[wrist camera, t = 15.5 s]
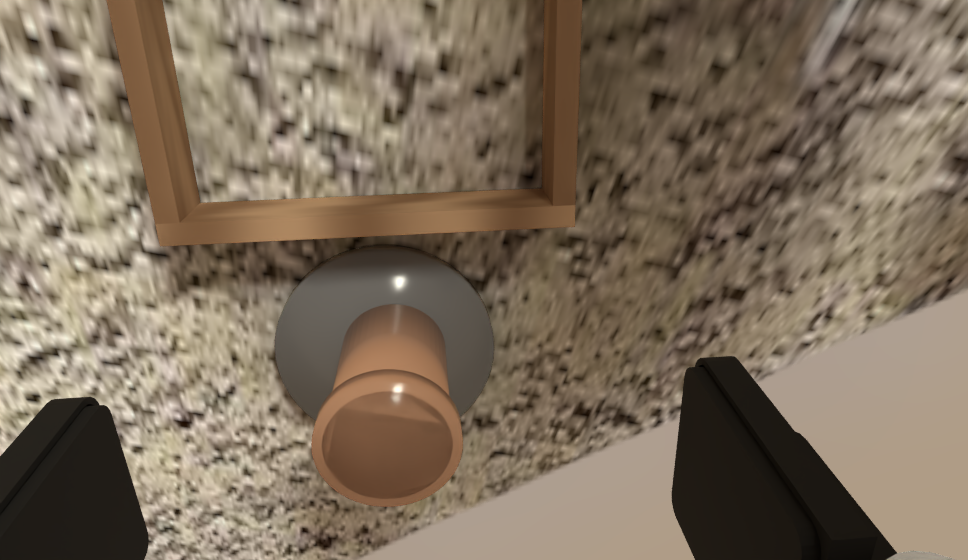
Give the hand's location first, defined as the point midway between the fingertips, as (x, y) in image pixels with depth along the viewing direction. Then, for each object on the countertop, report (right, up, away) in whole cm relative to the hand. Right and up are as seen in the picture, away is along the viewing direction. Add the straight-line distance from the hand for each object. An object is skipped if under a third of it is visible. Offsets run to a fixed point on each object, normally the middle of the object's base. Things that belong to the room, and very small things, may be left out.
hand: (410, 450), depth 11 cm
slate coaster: (-4, -1, +24) cm, 25 cm away
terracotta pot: (-3, -1, +23) cm, 24 cm away
